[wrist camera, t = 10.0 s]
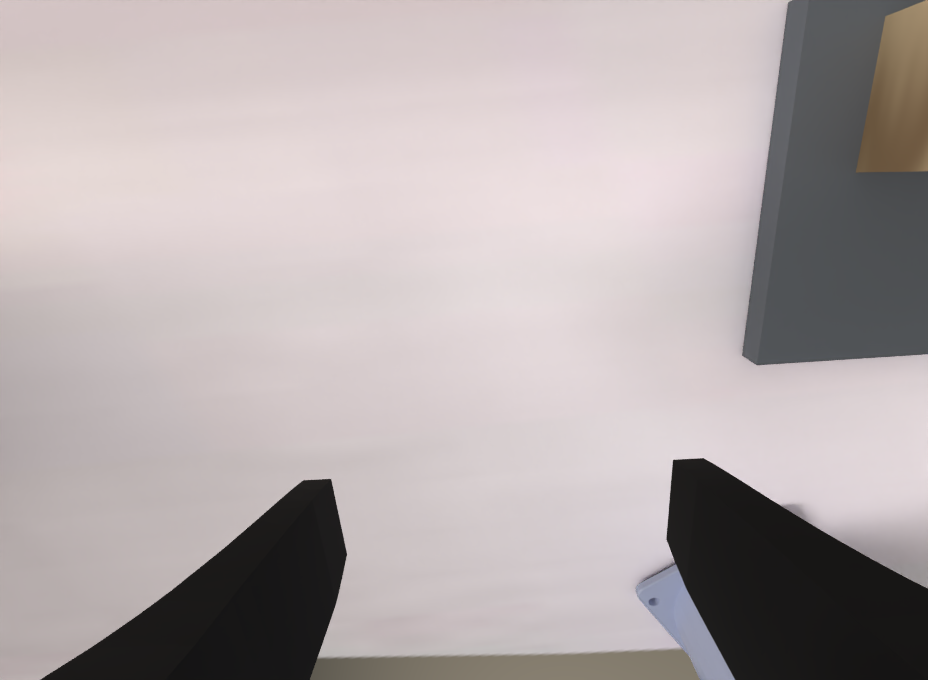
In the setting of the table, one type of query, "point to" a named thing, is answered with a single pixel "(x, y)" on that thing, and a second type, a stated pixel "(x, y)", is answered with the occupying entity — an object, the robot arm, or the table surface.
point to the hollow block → (899, 97)
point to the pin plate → (835, 205)
